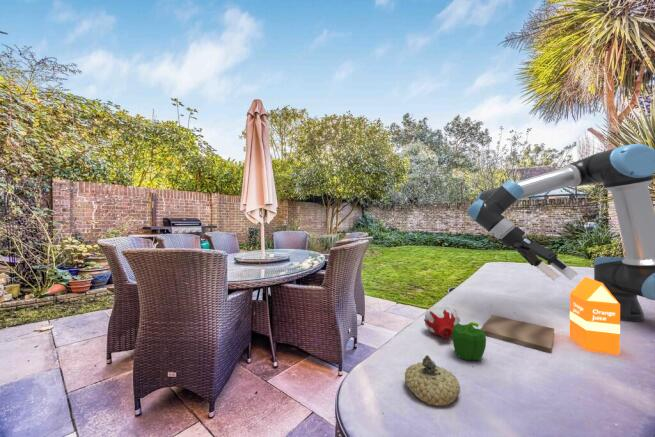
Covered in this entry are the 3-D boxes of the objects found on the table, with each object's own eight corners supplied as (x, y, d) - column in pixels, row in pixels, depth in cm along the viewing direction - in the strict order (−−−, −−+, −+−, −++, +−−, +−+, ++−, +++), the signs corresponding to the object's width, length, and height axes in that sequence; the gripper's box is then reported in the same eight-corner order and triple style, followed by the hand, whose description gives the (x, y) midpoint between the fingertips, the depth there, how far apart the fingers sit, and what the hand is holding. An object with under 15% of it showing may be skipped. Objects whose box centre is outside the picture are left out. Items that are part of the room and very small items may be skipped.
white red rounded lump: (454, 324, 93) (467, 351, 78) (420, 321, 95) (427, 347, 81) (455, 300, 92) (469, 323, 77) (421, 298, 94) (428, 319, 79)
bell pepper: (444, 352, 75) (444, 317, 75) (464, 346, 78) (464, 313, 78) (471, 368, 67) (471, 329, 67) (492, 360, 71) (492, 324, 71)
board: (554, 333, 88) (554, 328, 88) (551, 353, 74) (551, 348, 74) (491, 318, 100) (491, 314, 100) (479, 334, 87) (480, 329, 87)
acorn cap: (399, 374, 65) (398, 362, 58) (438, 357, 66) (442, 343, 59) (420, 421, 58) (422, 413, 51) (464, 401, 59) (472, 391, 52)
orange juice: (599, 340, 82) (600, 277, 82) (620, 355, 74) (621, 284, 74) (568, 337, 85) (569, 275, 85) (585, 350, 76) (586, 282, 76)
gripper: (493, 244, 107) (543, 285, 98) (506, 233, 85) (572, 284, 76) (507, 232, 106) (559, 271, 97) (524, 217, 84) (593, 267, 75)
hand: (565, 277), depth 86 cm, fingers open, 13 cm apart
